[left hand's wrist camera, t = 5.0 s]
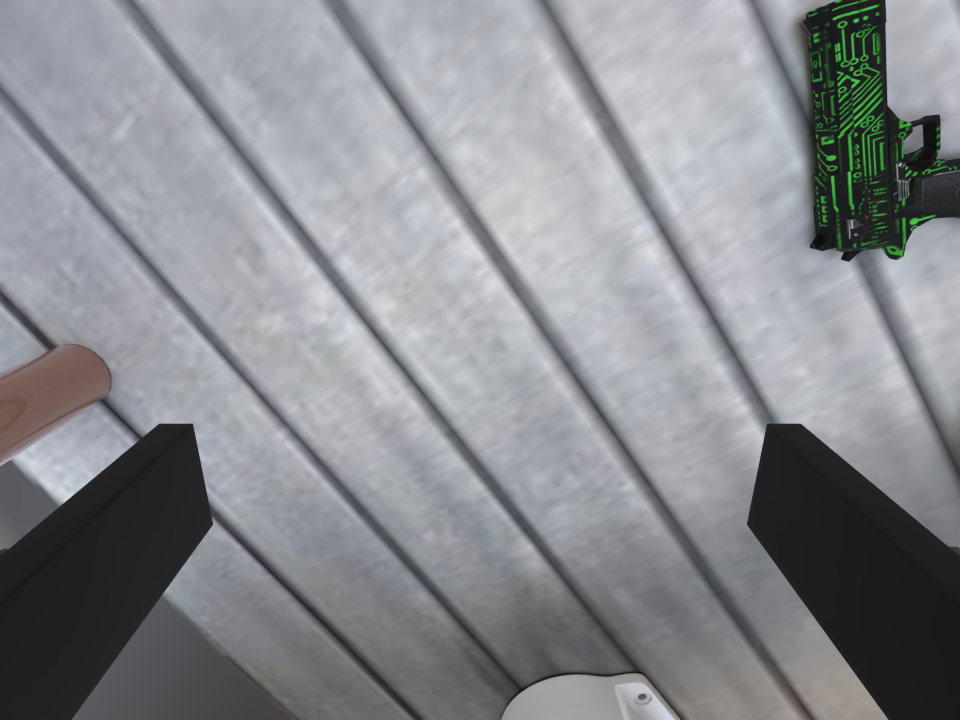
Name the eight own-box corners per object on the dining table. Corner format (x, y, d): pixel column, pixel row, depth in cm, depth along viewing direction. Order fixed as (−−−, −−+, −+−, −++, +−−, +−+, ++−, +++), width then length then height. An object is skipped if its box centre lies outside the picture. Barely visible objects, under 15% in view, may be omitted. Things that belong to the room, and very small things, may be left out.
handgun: (1044, 238, 36) (813, 281, 36) (1002, 233, 39) (788, 273, 39) (1087, -55, 31) (816, 1, 31) (1034, -36, 33) (786, 15, 34)
